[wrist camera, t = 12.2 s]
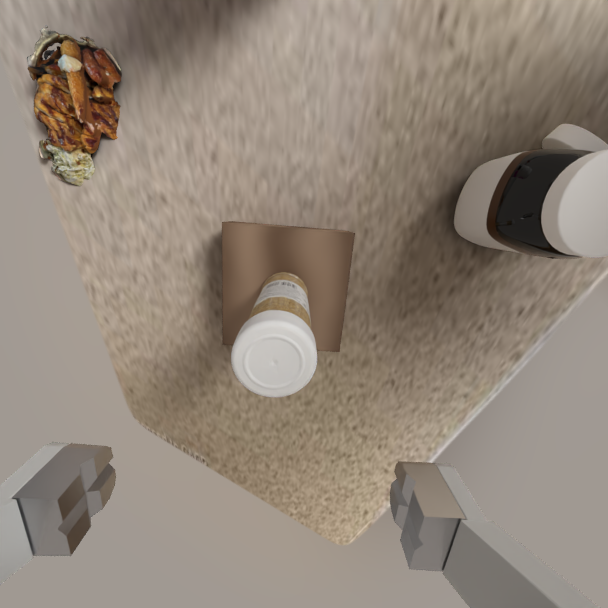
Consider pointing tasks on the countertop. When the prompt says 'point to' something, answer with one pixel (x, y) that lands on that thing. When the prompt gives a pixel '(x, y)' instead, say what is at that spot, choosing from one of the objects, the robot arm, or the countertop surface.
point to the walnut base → (291, 259)
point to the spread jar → (541, 199)
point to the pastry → (73, 101)
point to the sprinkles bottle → (276, 340)
